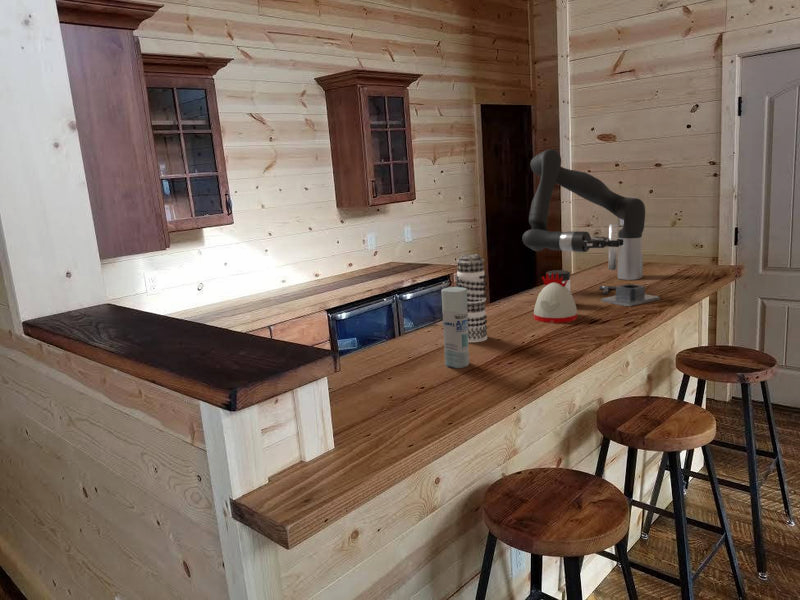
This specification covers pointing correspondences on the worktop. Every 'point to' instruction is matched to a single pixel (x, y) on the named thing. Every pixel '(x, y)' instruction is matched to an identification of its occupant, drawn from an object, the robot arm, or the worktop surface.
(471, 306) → the decorative candle
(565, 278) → the jar
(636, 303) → the chuck block
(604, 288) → the chuck key
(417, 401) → the worktop surface
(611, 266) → the steel rod
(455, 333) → the spray paint can
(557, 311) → the kitchen timer
